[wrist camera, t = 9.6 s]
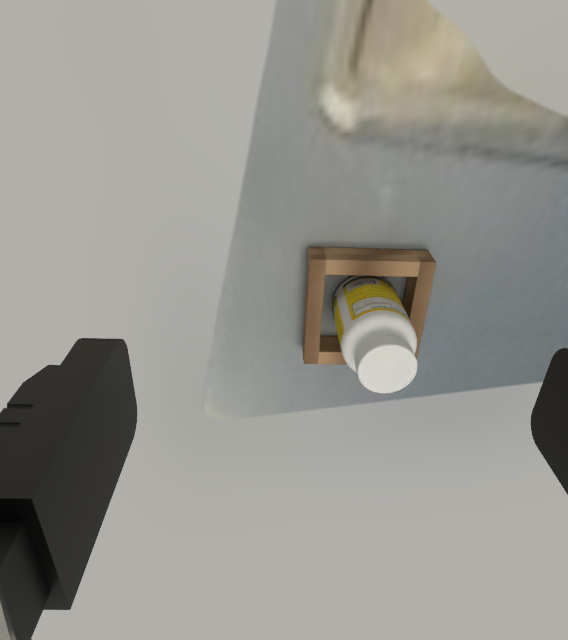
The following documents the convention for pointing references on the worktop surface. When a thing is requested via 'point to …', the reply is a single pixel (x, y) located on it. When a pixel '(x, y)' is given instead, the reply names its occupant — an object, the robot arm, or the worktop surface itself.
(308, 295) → the wooden frame
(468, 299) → the worktop surface
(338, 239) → the worktop surface
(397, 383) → the supplement bottle
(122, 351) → the robot arm
